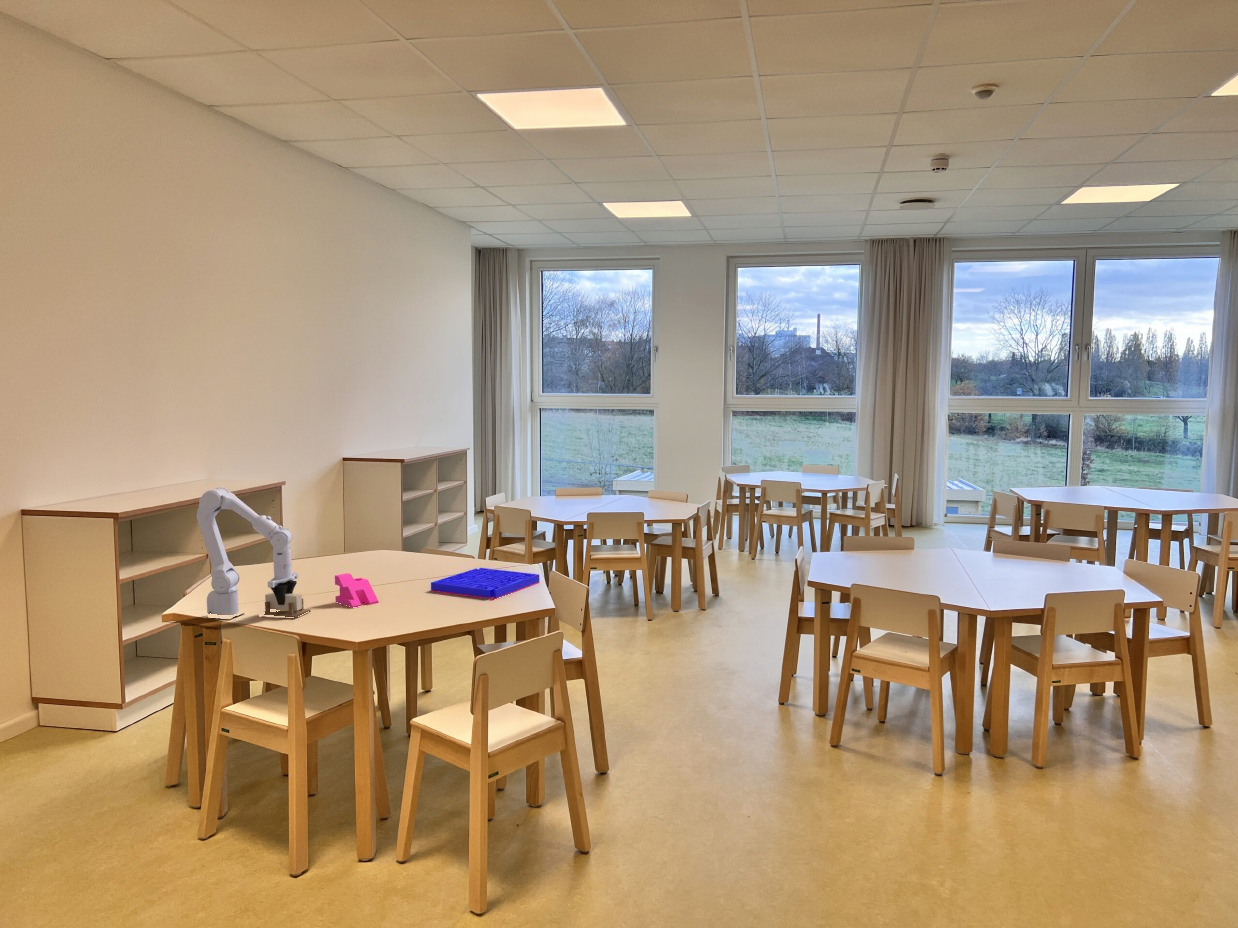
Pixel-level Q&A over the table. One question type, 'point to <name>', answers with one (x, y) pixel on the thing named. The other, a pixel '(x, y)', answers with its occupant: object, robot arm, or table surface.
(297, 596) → the beige rectangular block
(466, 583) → the maze
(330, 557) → the table surface
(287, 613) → the rack
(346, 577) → the bracket
